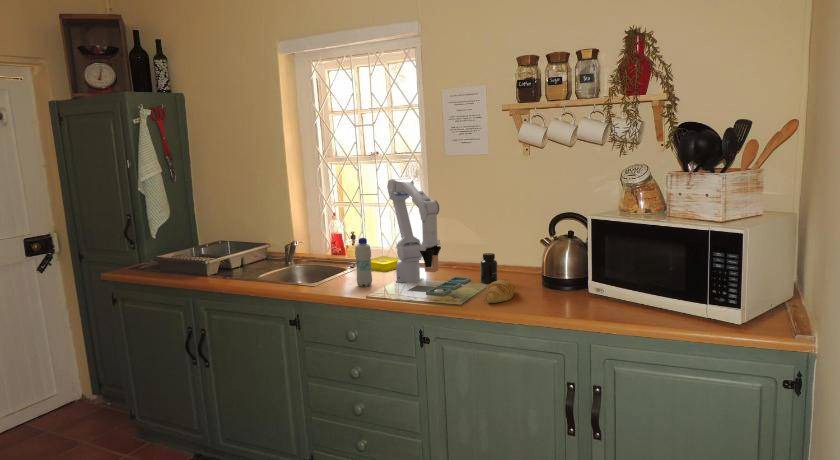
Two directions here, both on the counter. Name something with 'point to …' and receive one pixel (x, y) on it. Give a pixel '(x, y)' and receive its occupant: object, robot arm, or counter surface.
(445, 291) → the dish
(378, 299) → the counter surface
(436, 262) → the brown rectangular block
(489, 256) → the supplement bottle
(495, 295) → the bread loaf
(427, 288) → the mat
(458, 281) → the dish
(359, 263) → the bottle
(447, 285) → the dish
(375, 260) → the yellow food container
